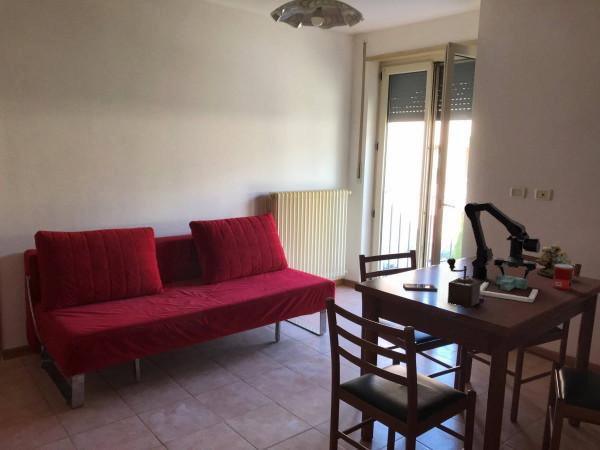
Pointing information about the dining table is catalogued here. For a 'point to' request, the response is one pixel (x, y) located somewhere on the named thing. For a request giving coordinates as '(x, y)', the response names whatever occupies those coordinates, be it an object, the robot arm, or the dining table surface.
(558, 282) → the red tapered cylinder
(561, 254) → the khaki lumpy piece
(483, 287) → the outline
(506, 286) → the T block
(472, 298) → the manual coffee grinder
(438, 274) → the dining table surface
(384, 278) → the dining table surface
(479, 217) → the robot arm
